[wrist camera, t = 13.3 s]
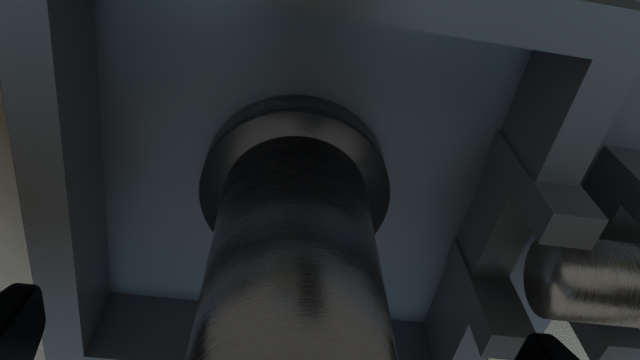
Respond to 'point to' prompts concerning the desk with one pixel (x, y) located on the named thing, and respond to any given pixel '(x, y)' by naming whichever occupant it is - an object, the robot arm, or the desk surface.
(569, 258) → the pin
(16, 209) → the desk surface
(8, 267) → the desk surface
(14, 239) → the desk surface
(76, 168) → the tray
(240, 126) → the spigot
